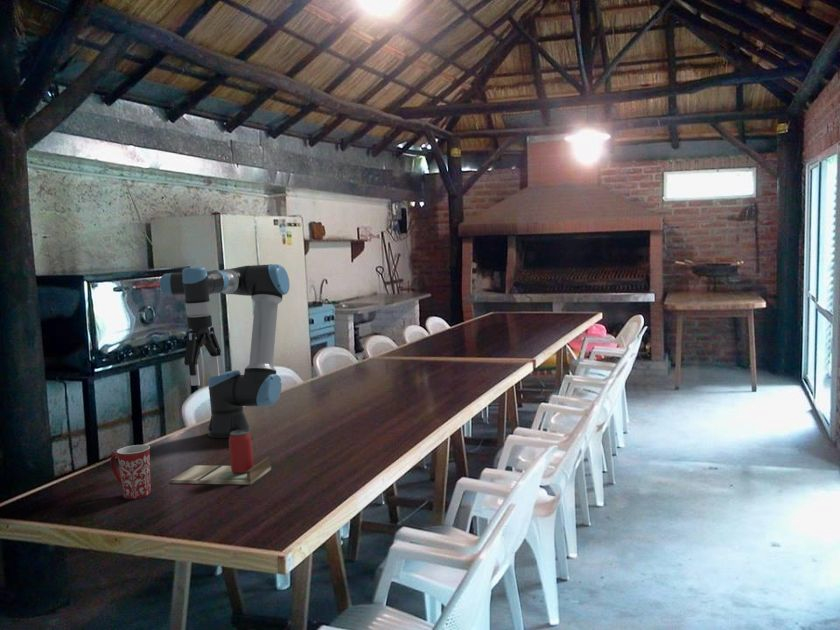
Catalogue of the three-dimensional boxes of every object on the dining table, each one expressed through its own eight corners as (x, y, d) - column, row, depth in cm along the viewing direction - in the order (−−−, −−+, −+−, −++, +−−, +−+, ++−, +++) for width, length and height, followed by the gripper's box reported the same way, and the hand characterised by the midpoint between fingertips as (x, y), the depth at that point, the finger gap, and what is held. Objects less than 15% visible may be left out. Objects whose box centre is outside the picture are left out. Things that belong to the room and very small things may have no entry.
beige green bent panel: (170, 483, 218) (169, 470, 218) (195, 468, 232) (194, 456, 231) (251, 484, 212) (249, 471, 212) (271, 469, 226) (270, 456, 225)
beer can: (245, 466, 225) (242, 428, 224) (258, 469, 221) (255, 431, 220) (227, 472, 220) (223, 433, 219) (240, 475, 216) (236, 436, 215)
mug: (161, 490, 212) (157, 445, 210) (138, 501, 203) (134, 454, 202) (127, 487, 216) (123, 443, 215) (104, 498, 208) (99, 451, 207)
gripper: (206, 310, 246) (212, 372, 249) (167, 321, 222) (175, 389, 225) (227, 309, 245) (233, 371, 248) (190, 320, 221) (197, 389, 223)
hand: (205, 380), depth 236 cm, fingers open, 13 cm apart
